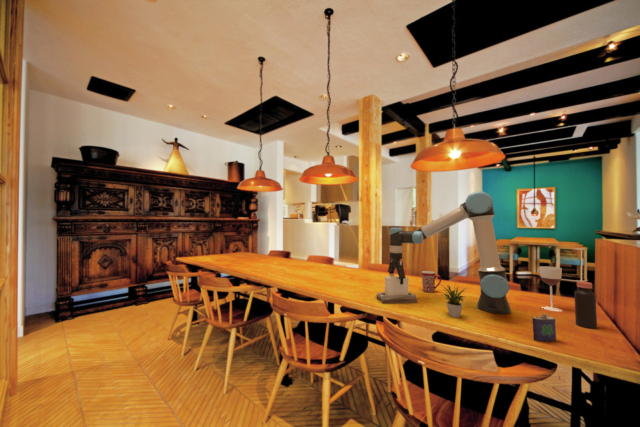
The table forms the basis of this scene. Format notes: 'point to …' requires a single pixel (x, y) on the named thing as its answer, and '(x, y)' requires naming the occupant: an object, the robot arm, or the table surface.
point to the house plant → (454, 302)
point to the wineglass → (551, 281)
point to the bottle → (585, 306)
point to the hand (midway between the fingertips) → (396, 286)
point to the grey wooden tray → (397, 298)
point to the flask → (544, 329)
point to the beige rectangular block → (395, 286)
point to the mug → (429, 281)
